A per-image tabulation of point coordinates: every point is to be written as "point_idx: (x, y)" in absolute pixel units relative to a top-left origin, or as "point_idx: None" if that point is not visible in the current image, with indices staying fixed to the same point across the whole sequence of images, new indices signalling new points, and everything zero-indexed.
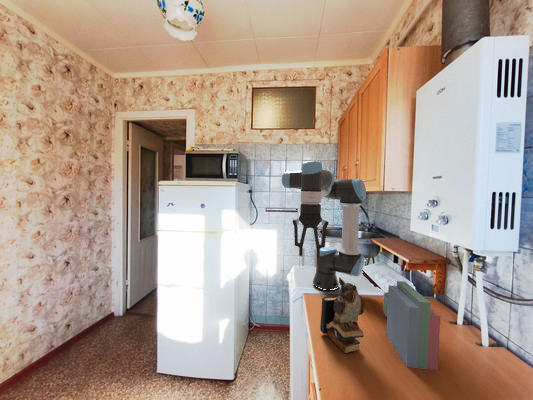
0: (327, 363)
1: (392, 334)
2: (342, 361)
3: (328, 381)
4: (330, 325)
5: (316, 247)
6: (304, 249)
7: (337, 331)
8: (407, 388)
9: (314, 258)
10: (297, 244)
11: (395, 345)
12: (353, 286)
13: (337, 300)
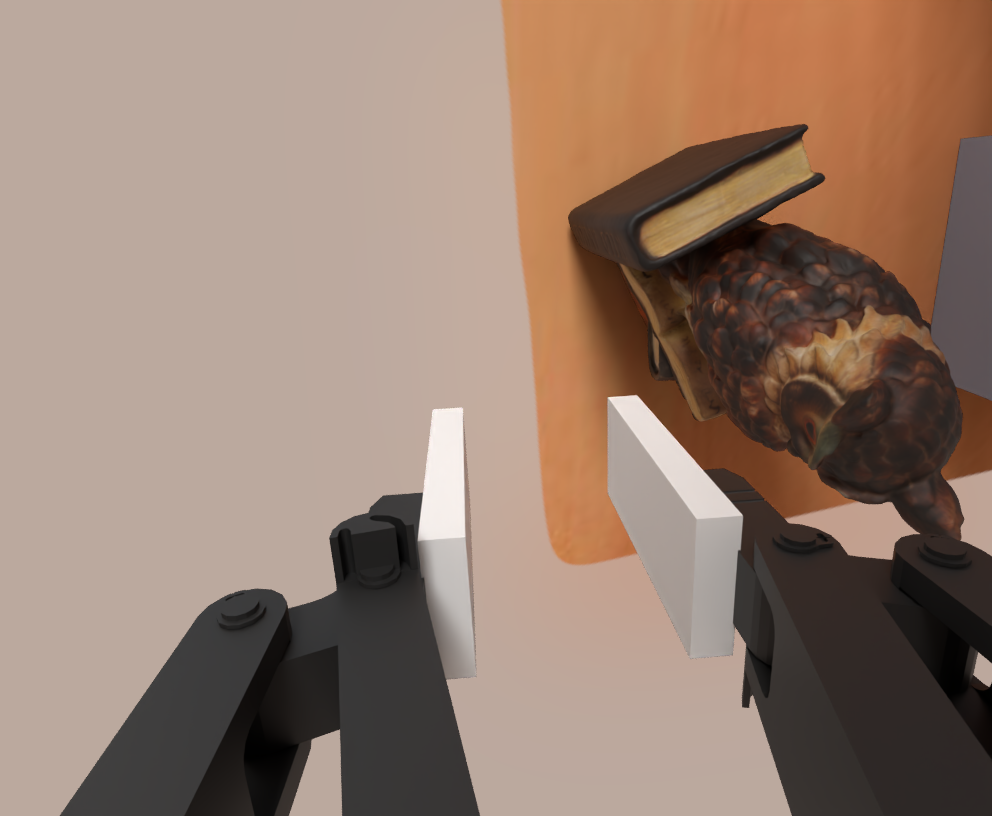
0: (582, 435)
1: (988, 222)
2: (651, 407)
3: (576, 518)
4: (637, 291)
5: (745, 639)
6: (475, 662)
7: (669, 363)
8: None
9: (638, 554)
10: (300, 747)
11: (955, 262)
12: None
13: (741, 387)
